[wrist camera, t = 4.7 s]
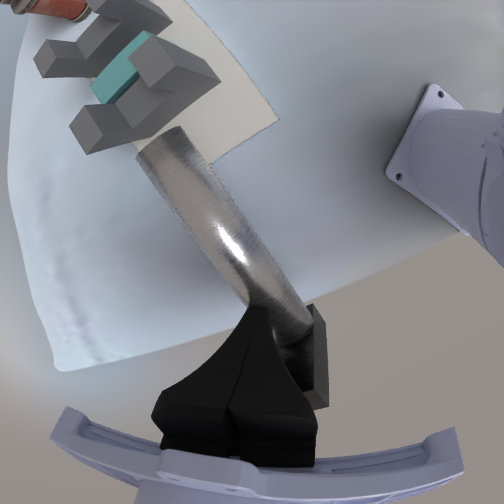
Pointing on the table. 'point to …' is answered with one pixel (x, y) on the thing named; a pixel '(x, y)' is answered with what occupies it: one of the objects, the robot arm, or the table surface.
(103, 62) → the shaft stand
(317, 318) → the shaft
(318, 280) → the table surface
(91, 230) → the table surface
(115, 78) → the spacer
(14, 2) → the lighter
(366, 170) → the table surface
